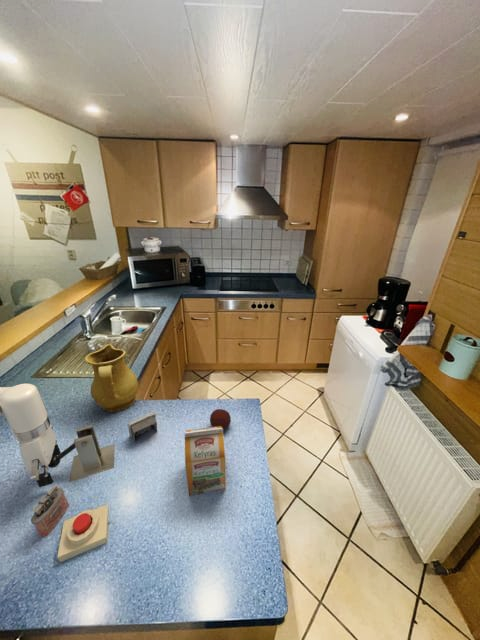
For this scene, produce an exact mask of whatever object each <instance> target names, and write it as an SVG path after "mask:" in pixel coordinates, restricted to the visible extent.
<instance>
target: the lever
mask: <svg viewBox="0 0 480 640" xmlns="http://www.w3.org/2000/svg"><path fill="white" fill-rule="evenodd" d="M92 434H93V433H91V432H89V431H87V430H86V431H84V432H83V433H82V434H80V435H79V436H77V439H78V438H82V437H85V436H89V435H92ZM74 450H76V447H75V444H74V442H73V443H72V444H71V445H70V446H68V447H67V448H66V449H64V450H63V451H62V452H61V453H60V454H59V455H55V456H52V458H51V461H50V463H49V465H48V469H55V468H57V466H59V465H60V463H61V460H62V459H64V457H66V456H67V455H68V454H70V453H71V452H72V451H74Z"/></svg>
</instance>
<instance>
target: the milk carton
mask: <svg viewBox="0 0 480 640" xmlns="http://www.w3.org/2000/svg"><path fill="white" fill-rule="evenodd" d="M184 463H185V464H184V465H185V473H186V482H187V490H188V491H187V493H188V497H192V496H197V495H203V494H210V493H215V492H222V491H226V490H227V488H226V485H227V484H226V483H227V481H226V480H227V479H226V448H225V436H224V430H223V428H222V426H218V427H212V426H210V427H203V428H195V429H194V428H193V429H187V430H185V432H184Z"/></svg>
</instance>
